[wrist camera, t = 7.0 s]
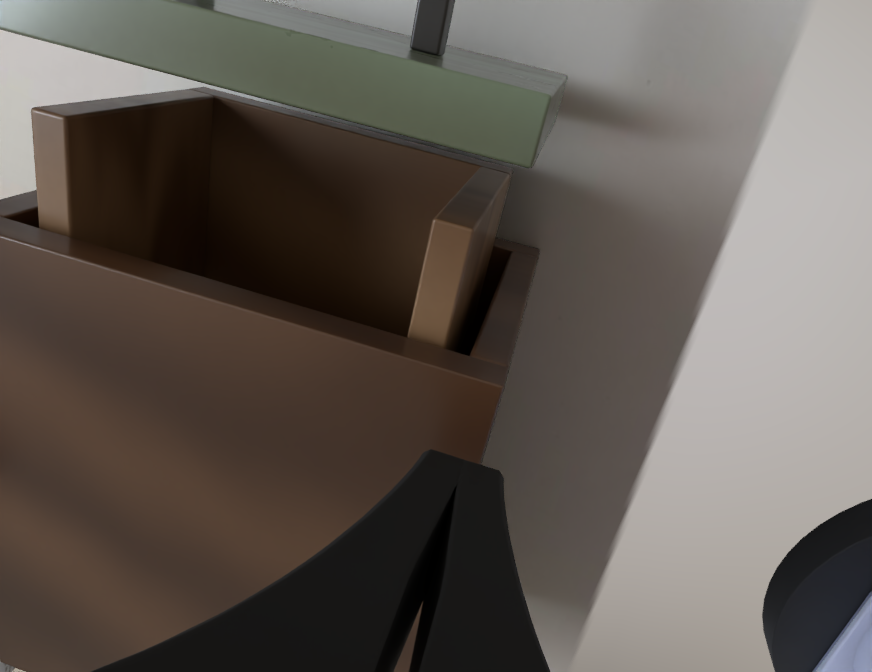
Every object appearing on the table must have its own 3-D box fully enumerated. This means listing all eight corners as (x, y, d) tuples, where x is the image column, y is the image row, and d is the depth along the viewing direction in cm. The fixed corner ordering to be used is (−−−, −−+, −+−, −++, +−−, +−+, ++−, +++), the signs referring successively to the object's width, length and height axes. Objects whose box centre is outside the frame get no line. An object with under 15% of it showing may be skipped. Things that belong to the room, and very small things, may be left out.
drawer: (197, -230, 15) (-61, -405, 9) (629, -140, 14) (654, -273, 8) (176, 375, 23) (26, 494, 17) (457, 464, 22) (405, 626, 16)
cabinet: (182, 150, 20) (-65, 215, 13) (540, 249, 19) (504, 386, 12) (171, 483, 26) (-1, 662, 19) (442, 574, 25) (376, 806, 18)
